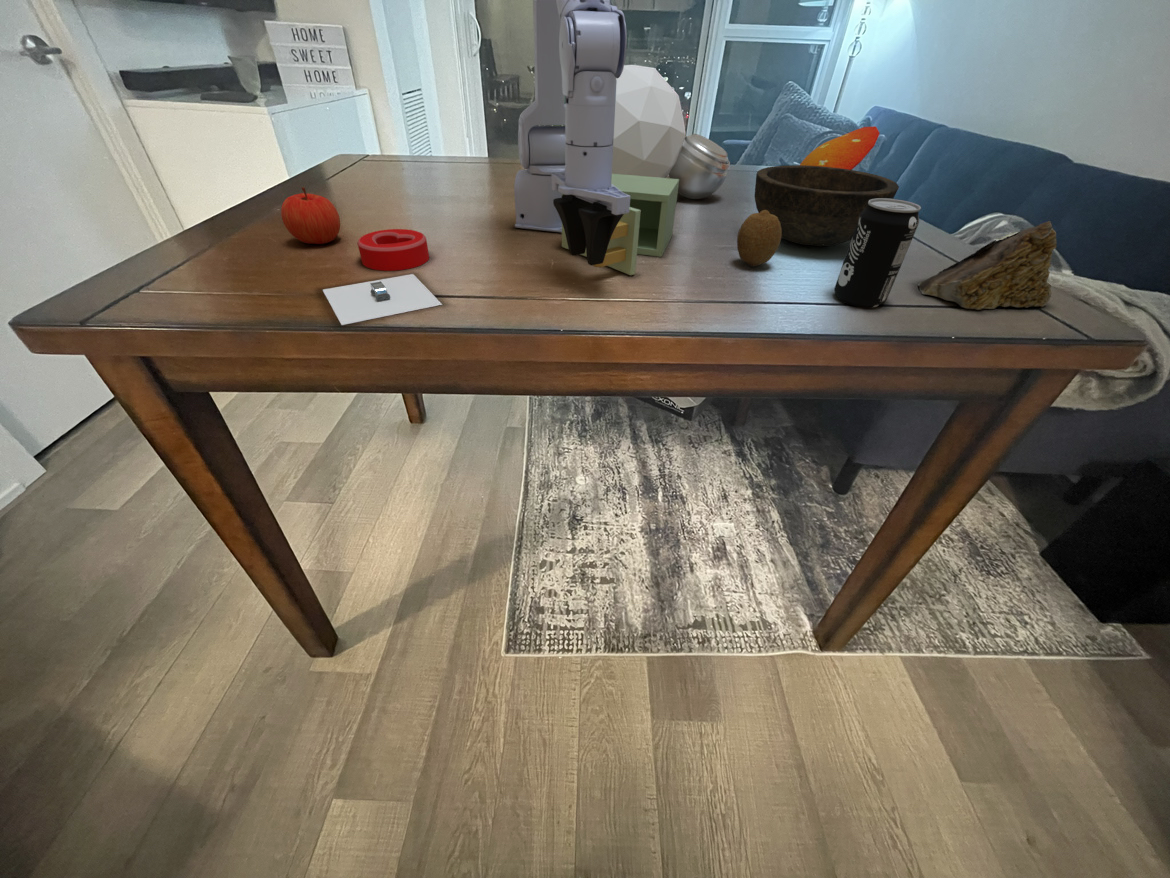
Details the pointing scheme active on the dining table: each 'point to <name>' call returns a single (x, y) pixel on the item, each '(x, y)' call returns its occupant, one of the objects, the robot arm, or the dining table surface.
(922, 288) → the mineral specimen
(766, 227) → the fruit
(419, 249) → the decorative ornament
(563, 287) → the dining table surface
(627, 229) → the cupboard door
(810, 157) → the decorative mushroom
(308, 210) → the apple
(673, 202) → the cupboard
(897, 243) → the beverage can
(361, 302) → the white paper sheet
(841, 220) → the bowl
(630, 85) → the lamp
